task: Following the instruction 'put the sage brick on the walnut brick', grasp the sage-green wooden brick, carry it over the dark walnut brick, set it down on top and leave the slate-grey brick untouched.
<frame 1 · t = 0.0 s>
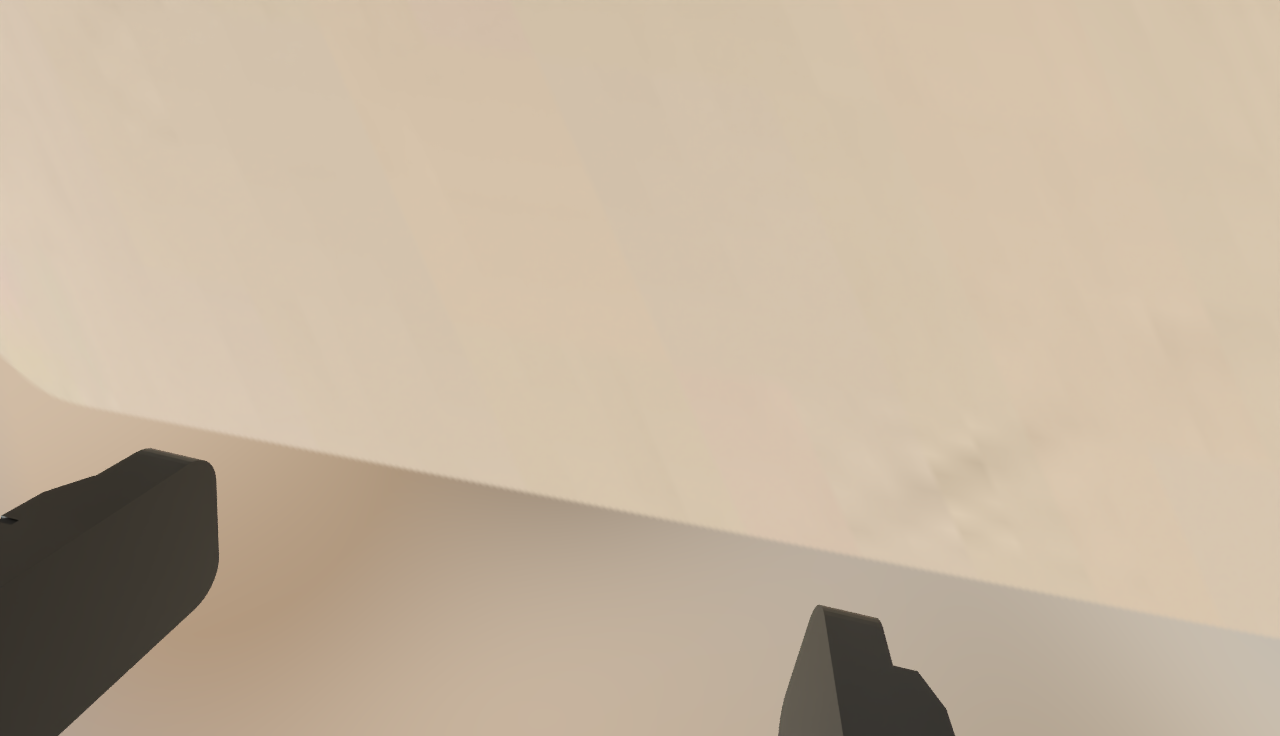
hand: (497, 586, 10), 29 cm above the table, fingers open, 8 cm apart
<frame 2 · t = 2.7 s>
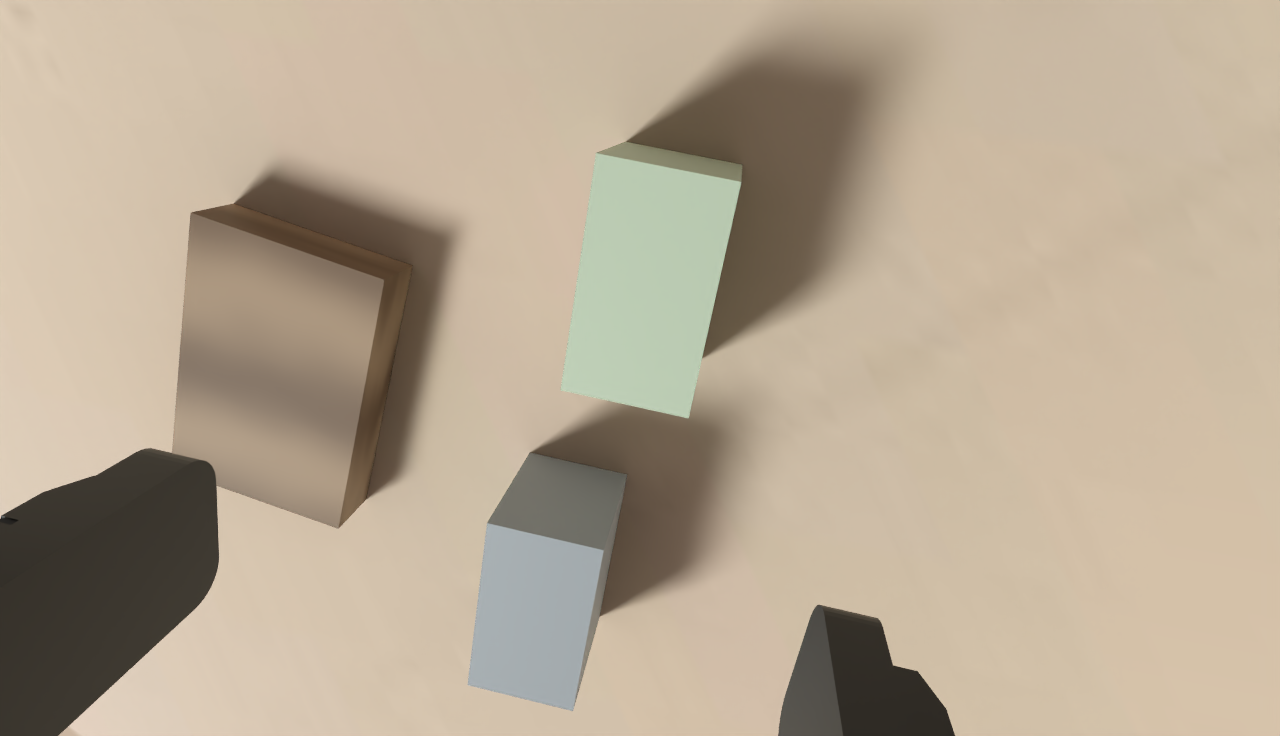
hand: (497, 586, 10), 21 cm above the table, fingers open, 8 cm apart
sage brick: (664, 255, 29), on the table
slate brick: (566, 536, 35), on the table
walnut brick: (309, 357, 34), on the table
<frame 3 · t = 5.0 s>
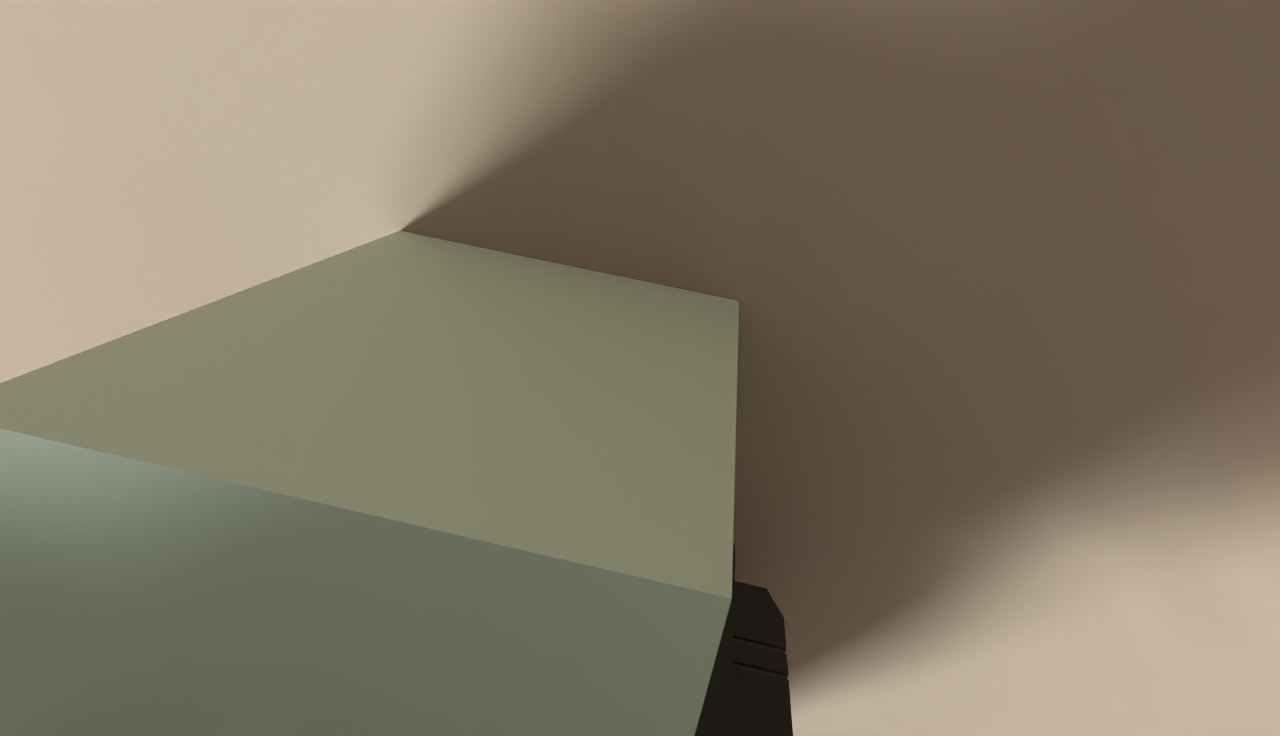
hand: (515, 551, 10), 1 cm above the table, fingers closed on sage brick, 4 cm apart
sage brick: (529, 526, 11), on the table, touching gripper
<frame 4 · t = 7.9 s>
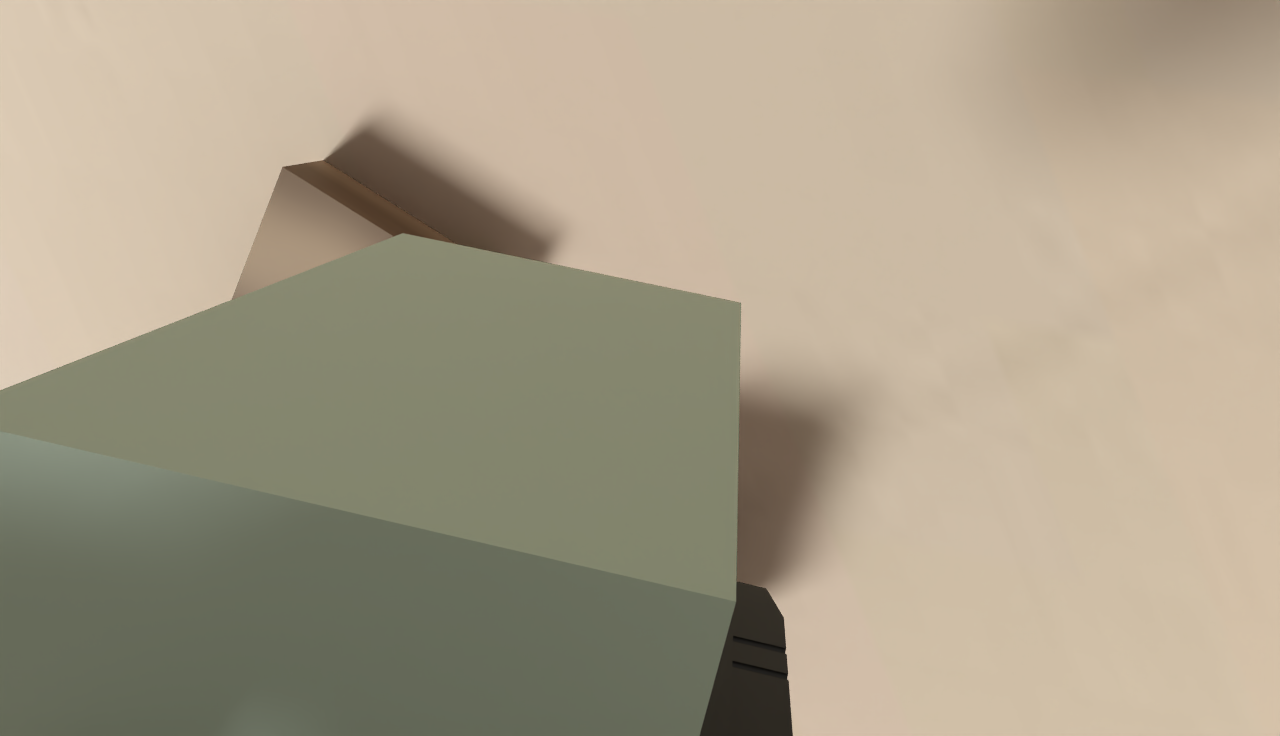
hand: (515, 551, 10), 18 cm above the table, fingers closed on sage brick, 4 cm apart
sage brick: (532, 527, 11), point 17 cm above the table, touching gripper
walnut brick: (362, 341, 30), on the table
when the fingers open (5 cm above the table, at t = 11.0 s): sage brick drops 1 cm, resting on walnut brick.
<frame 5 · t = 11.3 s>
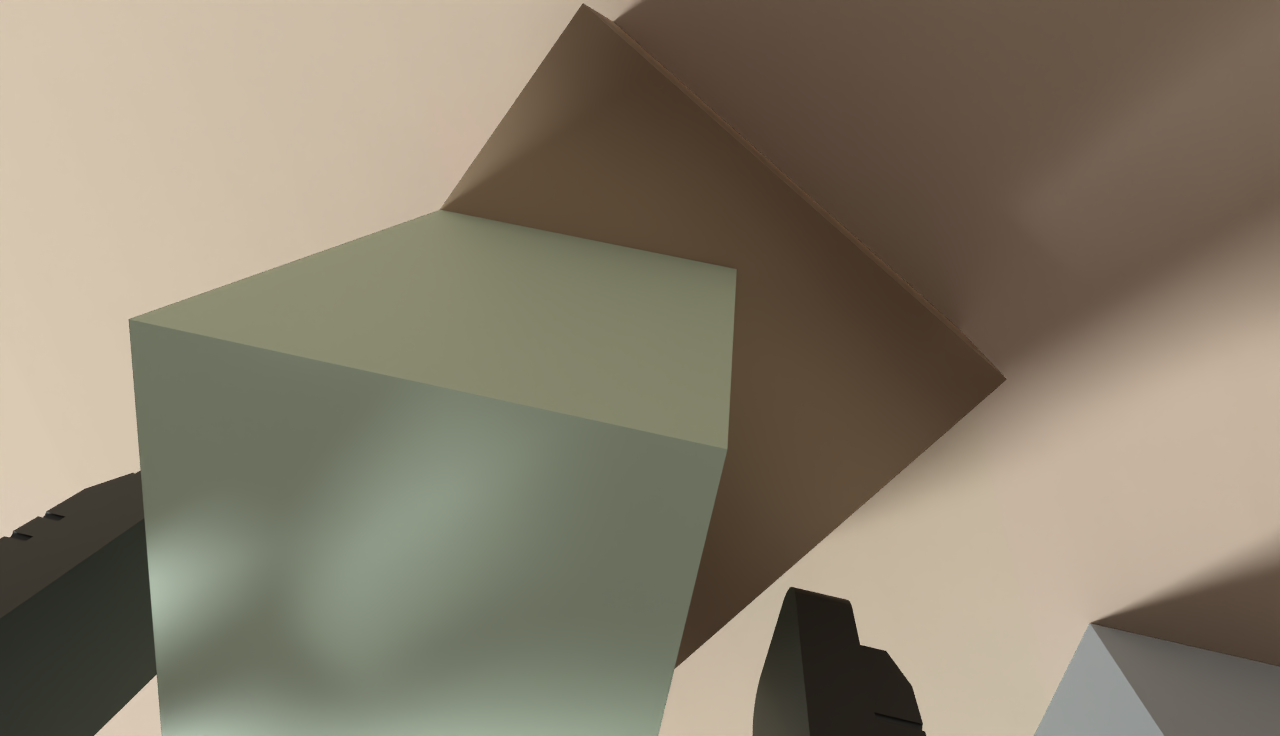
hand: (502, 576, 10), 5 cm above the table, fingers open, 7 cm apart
sage brick: (551, 474, 12), point 2 cm above the table, touching walnut brick
walnut brick: (587, 408, 15), on the table, touching sage brick
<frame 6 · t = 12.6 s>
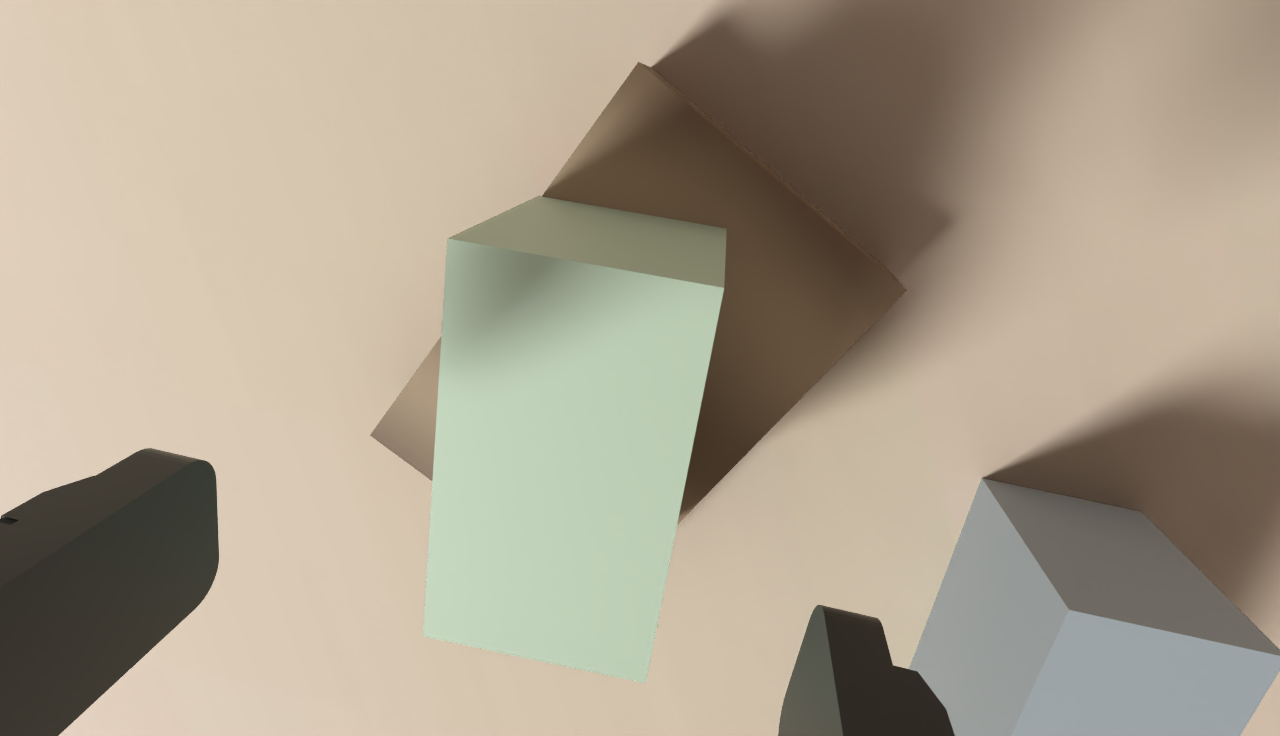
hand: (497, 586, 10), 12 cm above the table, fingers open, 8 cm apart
sage brick: (608, 369, 19), point 2 cm above the table, touching walnut brick
slate brick: (1011, 606, 22), on the table
walnut brick: (631, 334, 22), on the table, touching sage brick
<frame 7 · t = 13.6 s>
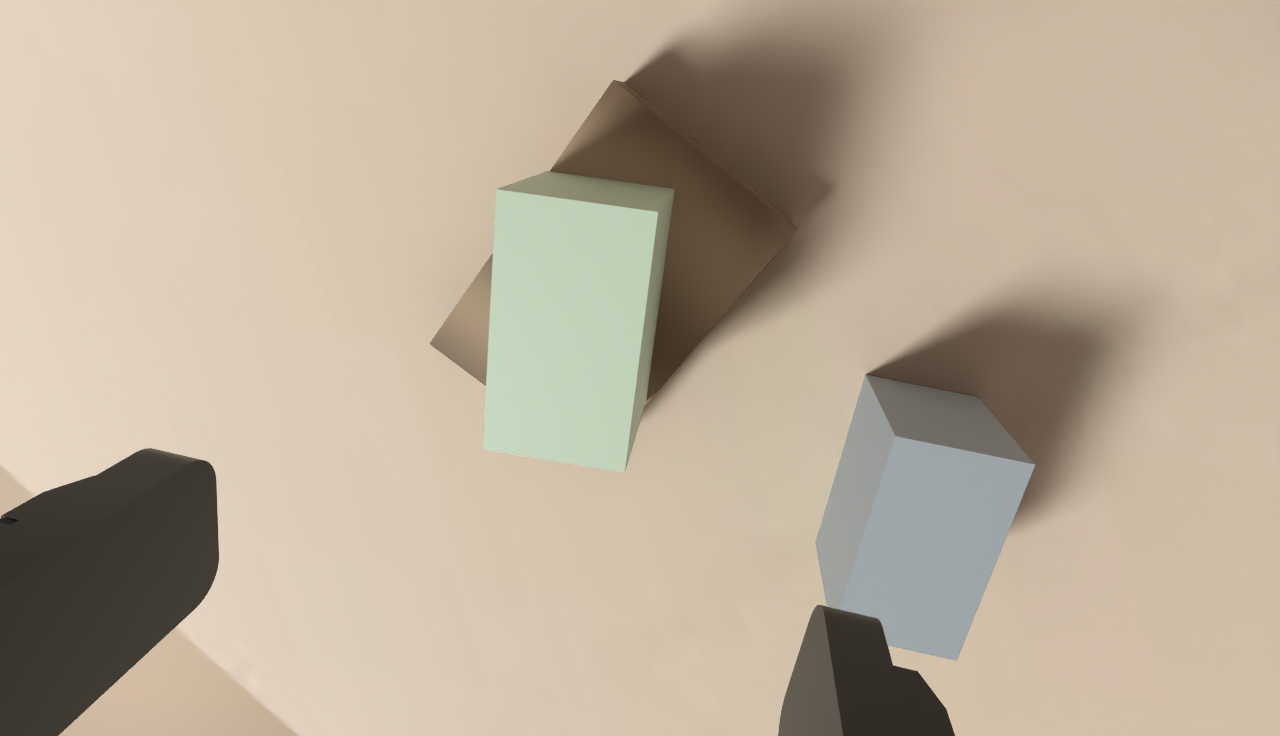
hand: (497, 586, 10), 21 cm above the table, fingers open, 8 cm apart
sage brick: (599, 290, 27), point 2 cm above the table, touching walnut brick
slate brick: (892, 472, 31), on the table
walnut brick: (614, 273, 30), on the table, touching sage brick
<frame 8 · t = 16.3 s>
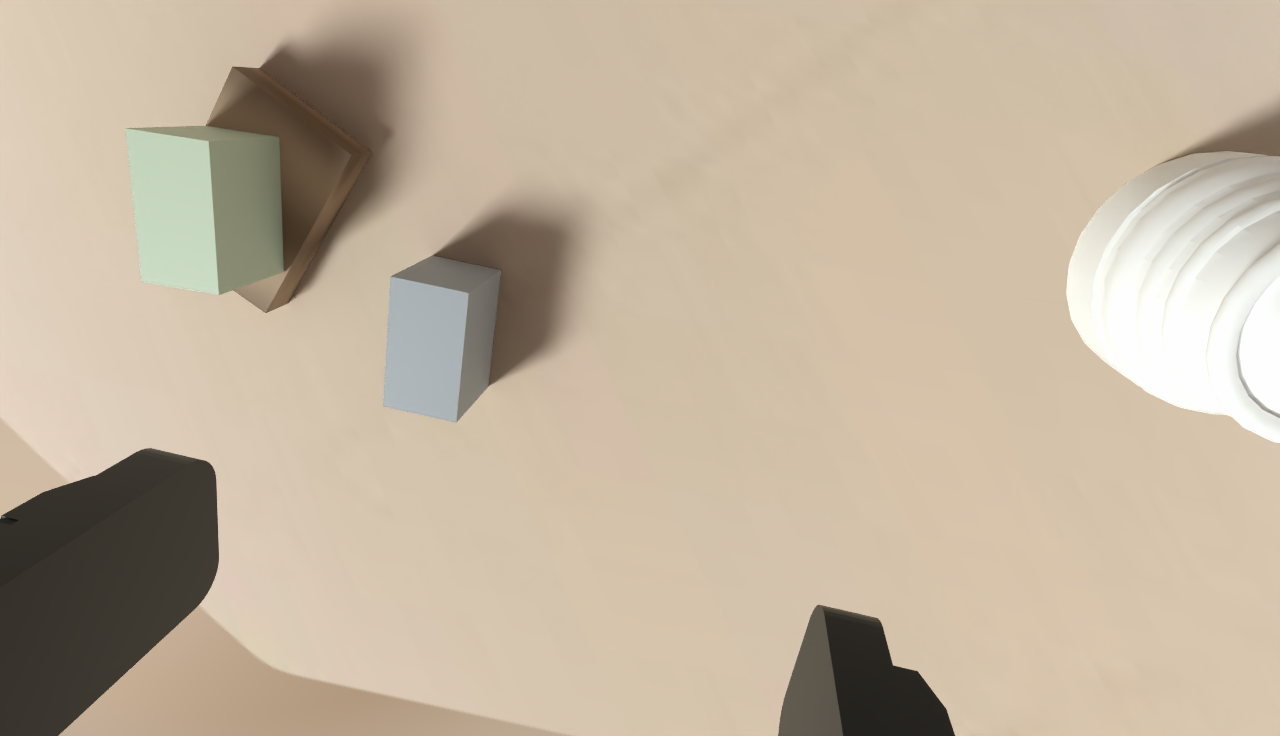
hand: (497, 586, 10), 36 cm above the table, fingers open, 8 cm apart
sage brick: (246, 200, 44), point 2 cm above the table, touching walnut brick
slate brick: (461, 322, 48), on the table
walnut brick: (279, 191, 47), on the table, touching sage brick
honey pot: (1189, 270, 41), on the table
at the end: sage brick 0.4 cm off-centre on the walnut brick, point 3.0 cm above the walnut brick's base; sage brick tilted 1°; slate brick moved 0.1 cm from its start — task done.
